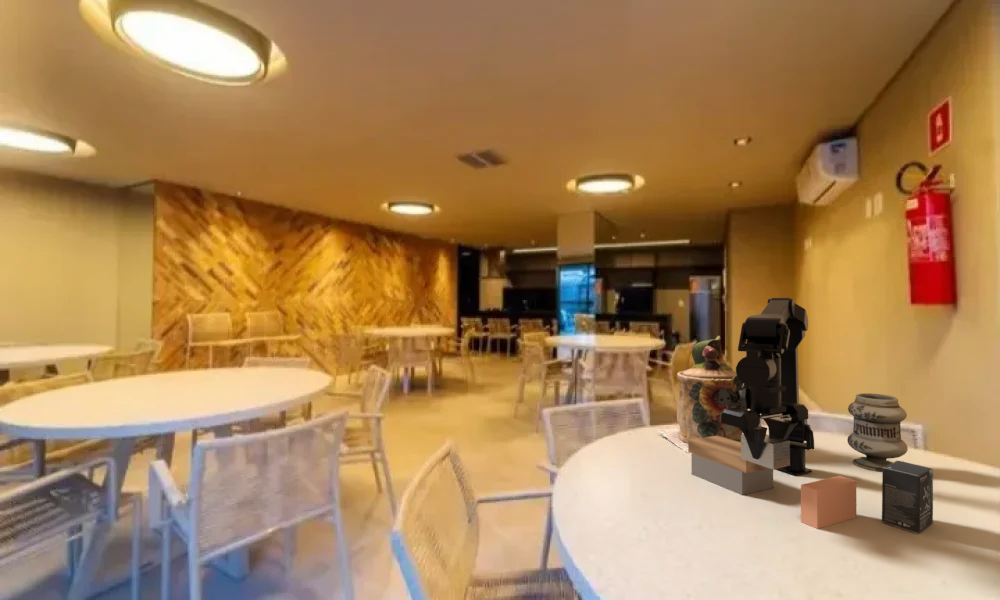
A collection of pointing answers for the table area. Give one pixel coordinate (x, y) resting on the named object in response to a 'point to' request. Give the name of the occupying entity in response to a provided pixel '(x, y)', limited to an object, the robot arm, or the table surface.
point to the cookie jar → (703, 397)
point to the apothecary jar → (876, 430)
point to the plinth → (732, 476)
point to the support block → (769, 452)
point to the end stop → (828, 501)
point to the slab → (722, 453)
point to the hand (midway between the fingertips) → (765, 456)
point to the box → (907, 496)
